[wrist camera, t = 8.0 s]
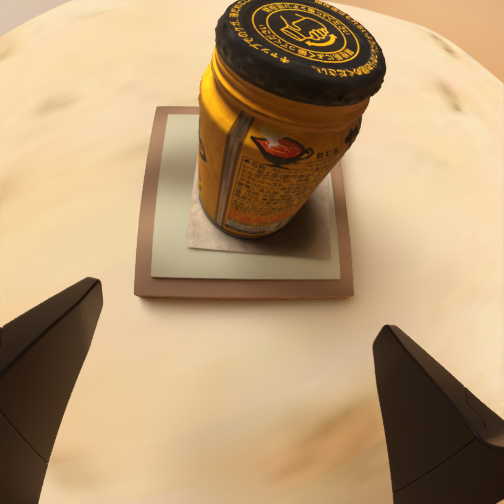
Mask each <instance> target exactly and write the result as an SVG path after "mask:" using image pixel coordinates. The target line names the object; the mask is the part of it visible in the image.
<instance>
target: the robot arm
mask: <svg viewBox="0 0 504 504" xmlns="http://www.w3.org/2000/svg"><path fill="white" fill-rule="evenodd" d="M102 307H103V295H102V285H101V281H100V280H99V279H97V278H92V277H87V278H85V279H83V280H81V281H79V282H77V283H76V284H74V285H72V286H70V287H68V288H67V289H65V290H63V291H61V292H60V293H58V294H56V295H54V296H53V297H51V298H49V299H47V300H46V301H44V302H42V303H40V304H39V305H37V306H35V307H34V308H32V309H30V310H29V311H27V312H25V313H24V314H22V315H20V316H19V317H17V318H15V319H14V320H12V321H10V322H9V323H7V324H5V325H4V326H3V328H2V327H0V504H38V502H39V498H40V494H41V490H42V486H43V482H44V478H45V474H46V470H47V467H48V464H47V463H49V459H50V456H51V452H52V449H53V446H54V442H55V439H56V436H57V433H58V430H59V427H60V424H61V421H62V418H63V415H64V412H65V410H66V407H67V404H68V401H69V399H70V396H71V393H72V391H73V388H74V385H75V383H76V380H77V378H78V375H79V373H80V370H81V368H82V365H83V363H84V361H85V358H86V356H87V353H88V351H89V348H90V345H91V342H92V338H93V335H94V332H95V329H96V325H97V322H98V319H99V316H100V313H101V310H102ZM373 357H374V366H375V376H376V385H377V391H378V397H379V402H380V407H381V413H382V419H383V425H384V431H385V437H386V444H387V450H388V458H389V465H390V473H391V482H392V491H393V503H394V504H504V420H503V419H502V418H501V417H499V416H498V415H497V414H496V413H495V412H493V411H492V410H491V409H490V408H488V407H487V406H486V405H485V404H484V403H482V402H481V401H480V400H479V399H478V398H477V397H476V396H475V395H473V394H472V393H471V392H470V391H469V390H468V389H467V388H466V387H464V385H463V384H461V383H460V382H459V381H458V380H457V379H456V378H455V377H454V376H453V375H452V374H450V373H449V372H448V371H447V370H446V369H445V368H444V367H443V366H442V365H440V364H439V363H438V362H437V361H436V360H435V359H434V358H433V357H431V356H430V355H429V354H428V353H427V352H426V351H425V350H424V349H422V348H421V347H420V346H419V345H418V344H417V343H416V342H414V341H413V340H412V339H411V338H410V337H409V336H408V335H406V334H405V333H404V332H403V331H402V330H401V329H399V328H398V327H397V326H395V325H384V326H383V327H382V329H381V331H380V332H379V334H378V336H377V337H376V339H375V340H374V343H373Z"/></svg>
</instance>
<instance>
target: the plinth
mask: <svg viewBox="0 0 504 504" xmlns="http://www.w3.org/2000/svg"><path fill="white" fill-rule="evenodd" d="M198 132H199V107H184V106H161V107H157V108H156V113H155V118H154V123H153V128H152V133H151V139H150V144H149V150H148V156H147V163H146V169H145V176H144V183H143V191H142V199H141V207H140V217H139V227H138V237H137V250H136V264H135V283H134V295H136V296H139V297H165V298H204V299H304V298H343V297H349V296H354V292H353V276H352V262H351V250H350V239H349V229H348V219H347V210H346V202H345V194H344V187H343V180H342V173H341V166H340V160H339V161H338V162H337V163H336V165H335V166H334V167H333V168H332V170H331V171H330V172H329V174H328V175H327V176H328V198H329V219H330V245H331V259H321V258H307V257H294V256H284V255H276V254H260V253H248V252H235V251H226V250H213V249H204V248H194V247H185V244H186V235H187V227H188V220H189V212H190V204H191V197H192V190H193V183H194V175H195V169H196V163H197V156H198V150H199V148H198V145H199V135H198Z"/></svg>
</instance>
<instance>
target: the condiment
mask: <svg viewBox="0 0 504 504" xmlns="http://www.w3.org/2000/svg"><path fill="white" fill-rule="evenodd" d="M215 32H216V39H215V41H216V45H215V48H214V51H213V56H212V60H211V62H210V64H209V65H208V67H207V69H206V70H205V72H204V74H203V76H202V80H201V83H200V94H199V98H198V101H199V106H200V107H199V132H198V135H199V145H198V148H199V150H198V156H197V163H196V169H195V175H194V183H193V190H192V197H191V204H190V212H189V220H188V227H187V235H186V244H185V247H194V248H204V249H213V250H226V251H235V252H248V253H260V254H276V255H284V256H294V257H307V258H321V259H331V245H330V219H329V198H328V176H327V175H328V174H329V172H330V171H331V170H332V168H333V167H334V166H335V165H336V163H337V162H338V161H339V160H340V159H341V158H342V156H343V155H344V154H345V152H346V151H347V150H348V149H349V148H350V147H351V145H352V143H353V142H354V141H355V139H356V137H357V135H358V133H359V130H360V128H361V122H362V114H363V113H364V112H365V110H366V108H367V106H368V104H369V100H370V97H371V96H373V95H374V94H375V93H377V92H378V91H379V90H380V88H381V84H382V83H383V82H384V76H385V73H386V63H385V58H384V56H383V53H382V49H381V48H380V46H379V45H378V43H377V42H376V40H375V39H374V37H373V36H372V35H371V34H370V33H369V32H368V30H367V29H365V28H364V27H363V26H362V25H361V24H360V23H359V22H357V21H355V20H354V19H352V18H351V17H350V16H349V15H348V14H346V13H344V12H342V11H341V10H339V9H337V8H335V7H333V6H331V5H329V4H326V3H324V2H321V1H318V0H238V1H236V2H234V3H233V4H231V5H230V6H229V7H228V8H227V9H226V11H225V13H224V14H223V15H222V16H221V17H220V19H219V20H218V24H217V26H216V28H215Z"/></svg>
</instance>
